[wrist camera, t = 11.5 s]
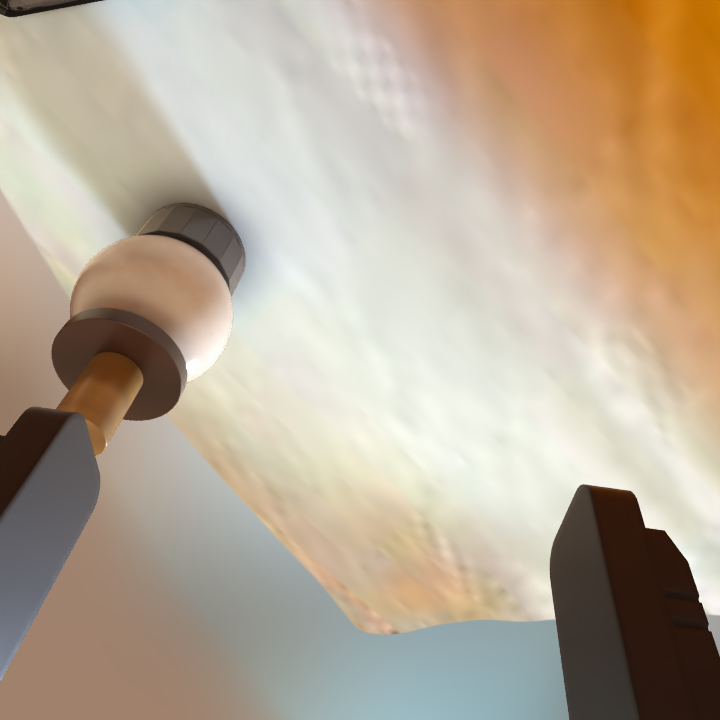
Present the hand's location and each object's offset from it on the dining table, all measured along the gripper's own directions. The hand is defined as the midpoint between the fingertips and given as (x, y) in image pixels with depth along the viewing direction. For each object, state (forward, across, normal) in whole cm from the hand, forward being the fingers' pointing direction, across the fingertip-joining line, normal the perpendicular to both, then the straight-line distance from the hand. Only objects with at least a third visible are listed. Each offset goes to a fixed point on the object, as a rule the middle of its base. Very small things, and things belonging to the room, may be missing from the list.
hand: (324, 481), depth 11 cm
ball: (+23, +13, +14) cm, 30 cm away
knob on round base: (+18, +13, +14) cm, 26 cm away
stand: (+30, +13, +14) cm, 36 cm away
